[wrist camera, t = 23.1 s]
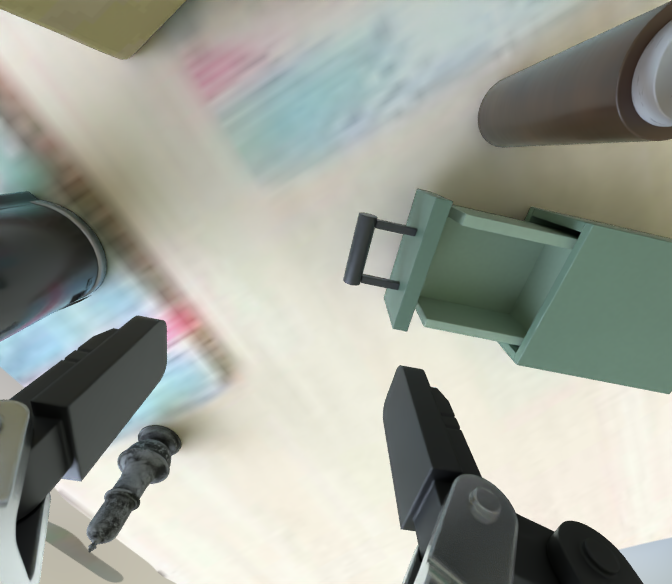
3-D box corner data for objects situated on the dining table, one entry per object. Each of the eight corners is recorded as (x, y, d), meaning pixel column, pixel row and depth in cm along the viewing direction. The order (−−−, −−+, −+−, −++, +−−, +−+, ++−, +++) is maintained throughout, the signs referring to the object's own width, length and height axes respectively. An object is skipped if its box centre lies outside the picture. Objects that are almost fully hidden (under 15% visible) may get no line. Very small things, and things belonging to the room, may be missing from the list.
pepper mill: (466, 106, 24) (658, 33, 9) (525, 60, 23) (852, -108, 8) (494, 160, 25) (698, 168, 11) (552, 119, 24) (868, 66, 10)
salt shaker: (126, 430, 39) (40, 540, 28) (165, 418, 38) (93, 526, 27) (154, 461, 41) (85, 574, 30) (192, 450, 40) (135, 563, 29)
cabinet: (478, 319, 31) (516, 365, 25) (530, 206, 27) (593, 223, 20) (601, 344, 32) (669, 394, 26) (671, 238, 28) (777, 266, 21)
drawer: (337, 288, 29) (336, 317, 24) (363, 176, 25) (369, 182, 20) (506, 322, 31) (539, 357, 25) (557, 220, 26) (609, 237, 21)
